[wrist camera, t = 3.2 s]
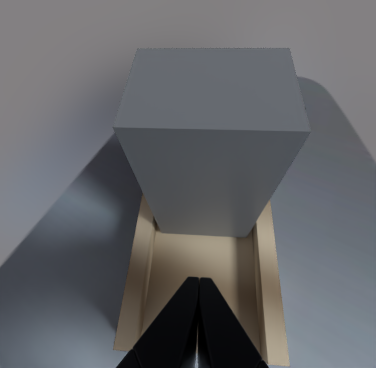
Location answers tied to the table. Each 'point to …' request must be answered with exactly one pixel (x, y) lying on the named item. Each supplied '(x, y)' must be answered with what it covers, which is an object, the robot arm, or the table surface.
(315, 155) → the table surface
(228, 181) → the grey rectangular box
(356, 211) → the table surface
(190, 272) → the sleeve track
